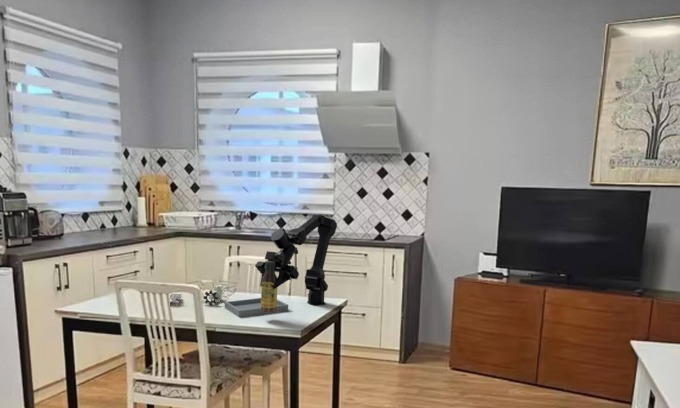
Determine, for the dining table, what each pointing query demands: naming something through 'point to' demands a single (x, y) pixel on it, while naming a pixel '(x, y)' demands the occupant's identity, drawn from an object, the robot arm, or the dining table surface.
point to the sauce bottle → (269, 288)
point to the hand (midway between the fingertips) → (267, 287)
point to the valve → (214, 295)
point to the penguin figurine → (175, 297)
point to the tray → (251, 307)
